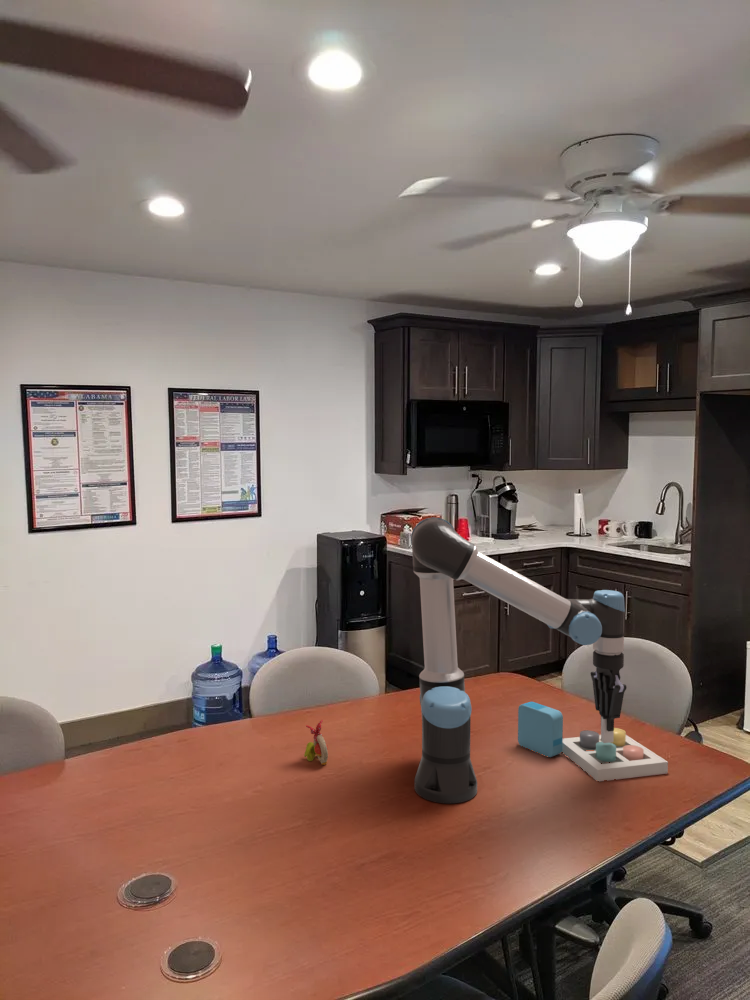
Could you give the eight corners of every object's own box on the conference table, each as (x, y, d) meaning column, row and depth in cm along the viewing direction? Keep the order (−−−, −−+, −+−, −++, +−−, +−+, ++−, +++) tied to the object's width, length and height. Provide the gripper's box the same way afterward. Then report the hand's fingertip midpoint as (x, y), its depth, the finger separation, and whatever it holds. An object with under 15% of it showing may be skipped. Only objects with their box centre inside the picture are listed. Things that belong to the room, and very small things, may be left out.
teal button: (602, 762, 180) (602, 750, 180) (591, 754, 185) (592, 742, 185) (620, 760, 181) (620, 748, 181) (609, 752, 186) (609, 740, 186)
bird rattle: (334, 769, 187) (320, 745, 194) (342, 737, 183) (327, 713, 190) (313, 775, 184) (299, 750, 191) (320, 742, 180) (306, 718, 187)
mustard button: (612, 747, 190) (613, 735, 189) (602, 740, 194) (602, 728, 194) (629, 745, 191) (629, 733, 191) (618, 738, 196) (618, 727, 196)
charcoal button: (585, 750, 188) (586, 738, 188) (576, 742, 193) (576, 731, 192) (602, 748, 189) (603, 736, 189) (592, 741, 194) (592, 729, 194)
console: (597, 781, 176) (597, 769, 176) (557, 749, 195) (558, 739, 195) (667, 773, 181) (667, 761, 181) (622, 743, 200) (622, 732, 200)
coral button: (630, 765, 182) (630, 753, 182) (619, 757, 187) (619, 746, 187) (647, 763, 183) (647, 751, 183) (635, 756, 188) (636, 744, 188)
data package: (562, 755, 192) (563, 711, 191) (552, 759, 189) (552, 715, 188) (527, 741, 201) (528, 699, 201) (517, 745, 198) (517, 703, 198)
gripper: (636, 657, 176) (635, 750, 177) (607, 644, 189) (606, 730, 190) (609, 659, 174) (608, 753, 176) (581, 645, 187) (580, 733, 188)
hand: (607, 741), depth 183 cm, fingers closed
